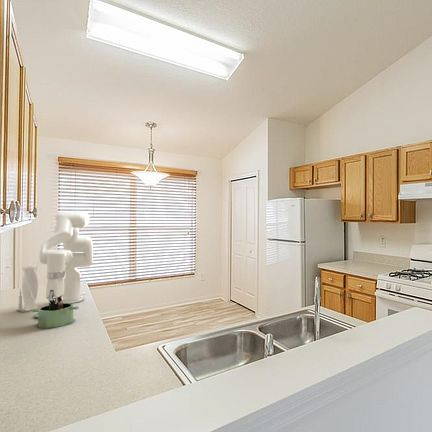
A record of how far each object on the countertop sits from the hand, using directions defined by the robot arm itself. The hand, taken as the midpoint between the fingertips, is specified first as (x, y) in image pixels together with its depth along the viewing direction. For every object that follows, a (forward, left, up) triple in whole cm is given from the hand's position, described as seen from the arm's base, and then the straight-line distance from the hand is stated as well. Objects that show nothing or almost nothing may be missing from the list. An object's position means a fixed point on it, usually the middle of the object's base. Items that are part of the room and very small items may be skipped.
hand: (56, 309), depth 165 cm
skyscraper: (-20, -35, -7) cm, 41 cm away
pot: (0, 0, -7) cm, 7 cm away
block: (0, 0, 0) cm, 0 cm away
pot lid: (-13, -14, -6) cm, 20 cm away
